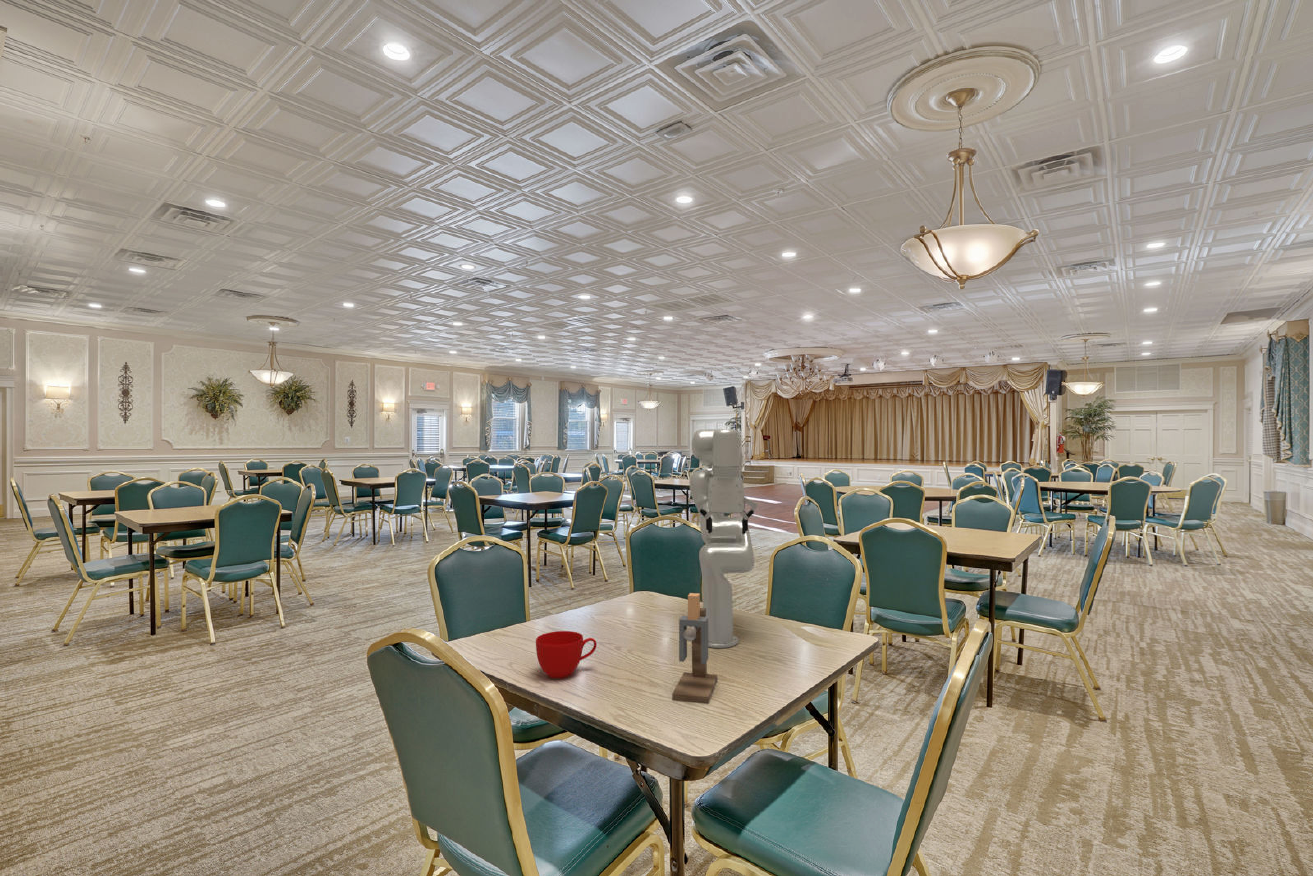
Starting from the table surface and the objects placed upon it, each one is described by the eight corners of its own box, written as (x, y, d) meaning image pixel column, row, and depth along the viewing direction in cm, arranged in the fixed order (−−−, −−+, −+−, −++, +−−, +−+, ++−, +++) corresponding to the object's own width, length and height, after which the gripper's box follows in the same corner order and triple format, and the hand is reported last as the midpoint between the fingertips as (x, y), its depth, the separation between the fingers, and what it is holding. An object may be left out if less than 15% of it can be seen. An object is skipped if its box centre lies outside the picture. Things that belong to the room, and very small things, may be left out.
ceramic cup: (602, 677, 160) (602, 640, 160) (539, 686, 154) (539, 647, 155) (591, 661, 172) (591, 627, 173) (532, 669, 167) (532, 634, 167)
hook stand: (684, 677, 159) (683, 606, 160) (717, 680, 157) (716, 608, 157) (671, 701, 144) (670, 623, 144) (708, 704, 141) (706, 625, 142)
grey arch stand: (679, 661, 148) (679, 595, 149) (682, 656, 152) (682, 592, 153) (705, 663, 147) (705, 597, 147) (708, 658, 151) (708, 593, 151)
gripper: (693, 473, 166) (694, 534, 165) (755, 473, 161) (756, 536, 161) (698, 472, 173) (699, 530, 173) (758, 472, 168) (759, 532, 168)
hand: (727, 533), depth 167 cm, fingers open, 9 cm apart
